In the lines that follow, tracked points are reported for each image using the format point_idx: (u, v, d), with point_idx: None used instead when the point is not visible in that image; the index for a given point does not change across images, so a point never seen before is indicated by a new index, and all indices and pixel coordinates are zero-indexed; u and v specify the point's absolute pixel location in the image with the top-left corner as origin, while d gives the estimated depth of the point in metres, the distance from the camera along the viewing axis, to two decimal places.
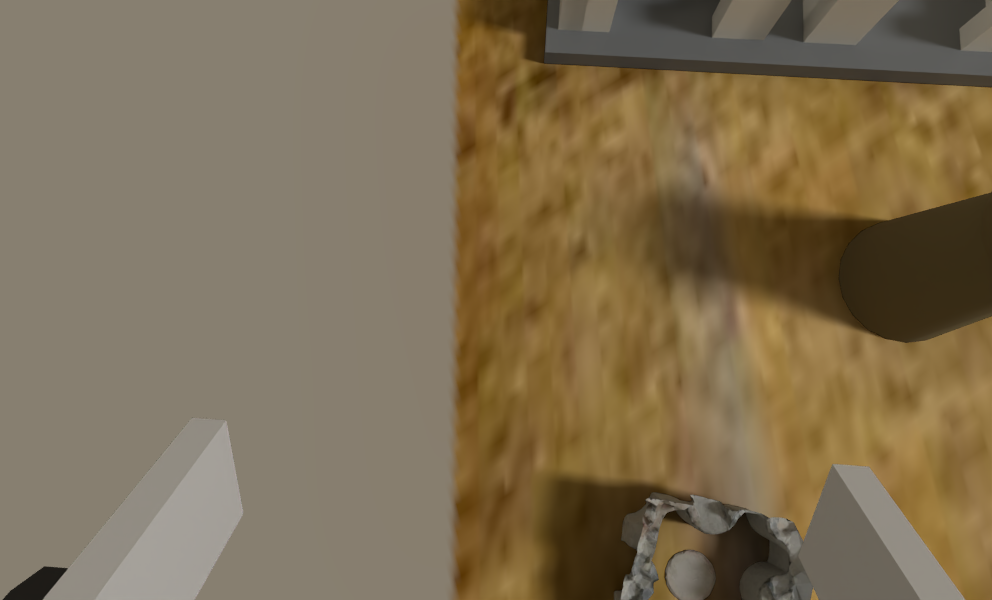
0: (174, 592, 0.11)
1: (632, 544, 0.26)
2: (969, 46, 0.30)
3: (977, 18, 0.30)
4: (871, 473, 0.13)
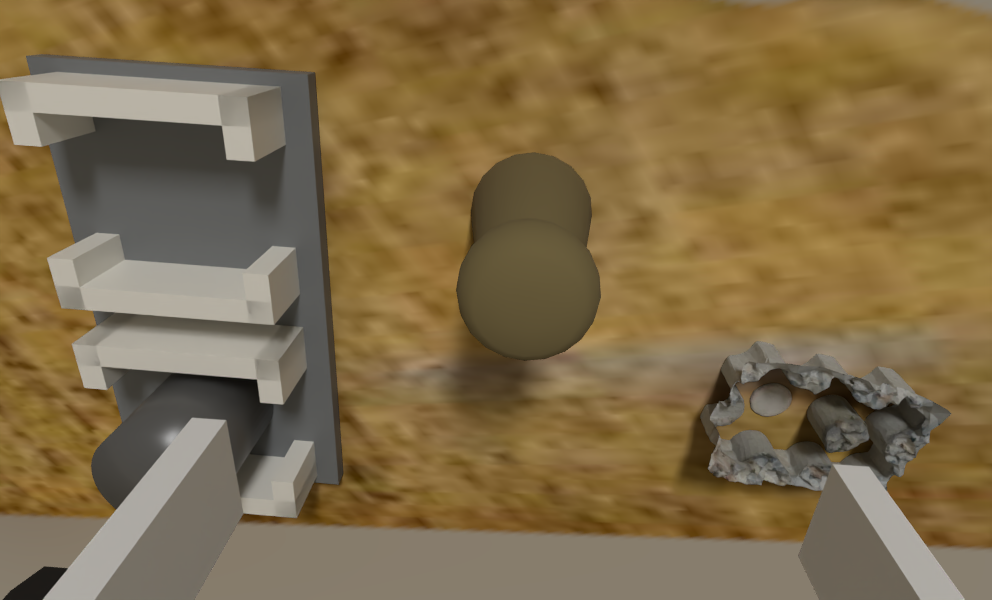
0: (174, 593, 0.11)
1: None
2: (282, 142, 0.28)
3: None
4: (871, 472, 0.13)
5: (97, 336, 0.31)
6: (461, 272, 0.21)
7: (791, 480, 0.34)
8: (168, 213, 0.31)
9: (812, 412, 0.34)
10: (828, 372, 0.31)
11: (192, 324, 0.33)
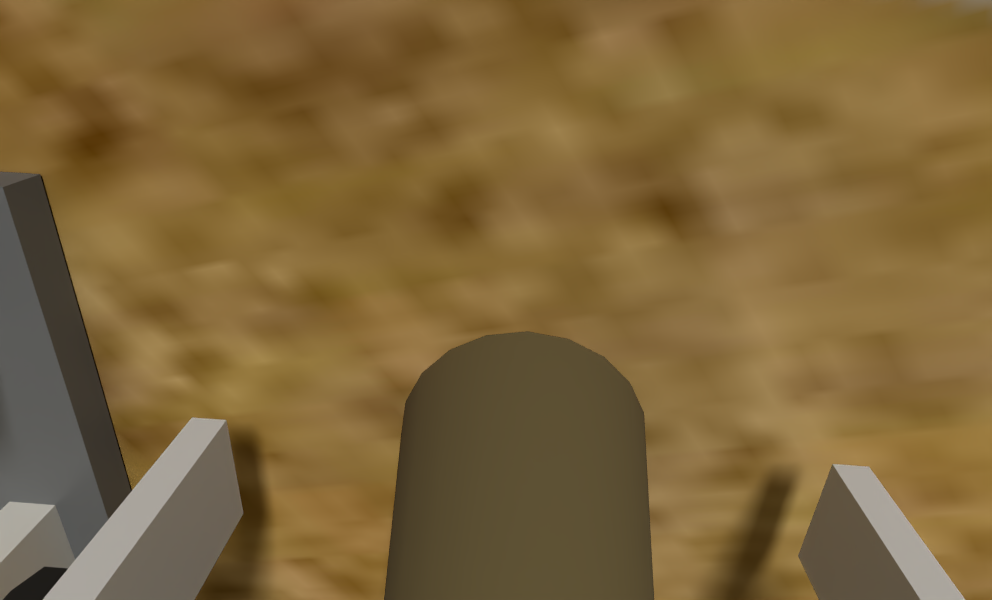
0: (174, 593, 0.11)
1: None
2: None
3: None
4: (871, 472, 0.13)
5: None
6: None
7: None
8: None
9: None
10: None
11: None
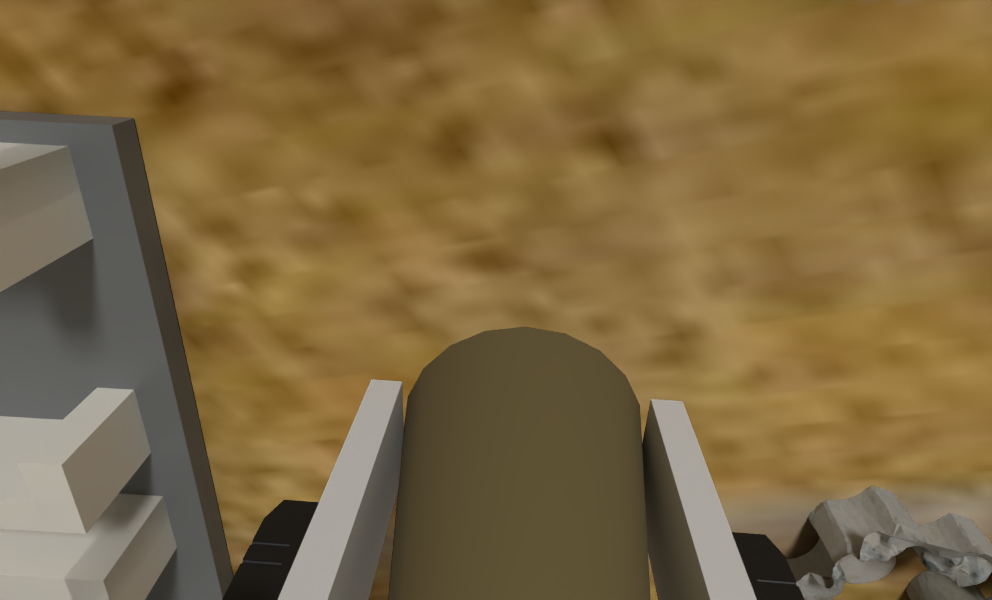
0: (379, 528, 0.13)
1: None
2: (83, 237, 0.17)
3: None
4: (682, 406, 0.14)
5: None
6: None
7: None
8: None
9: (921, 589, 0.23)
10: (987, 559, 0.20)
11: None
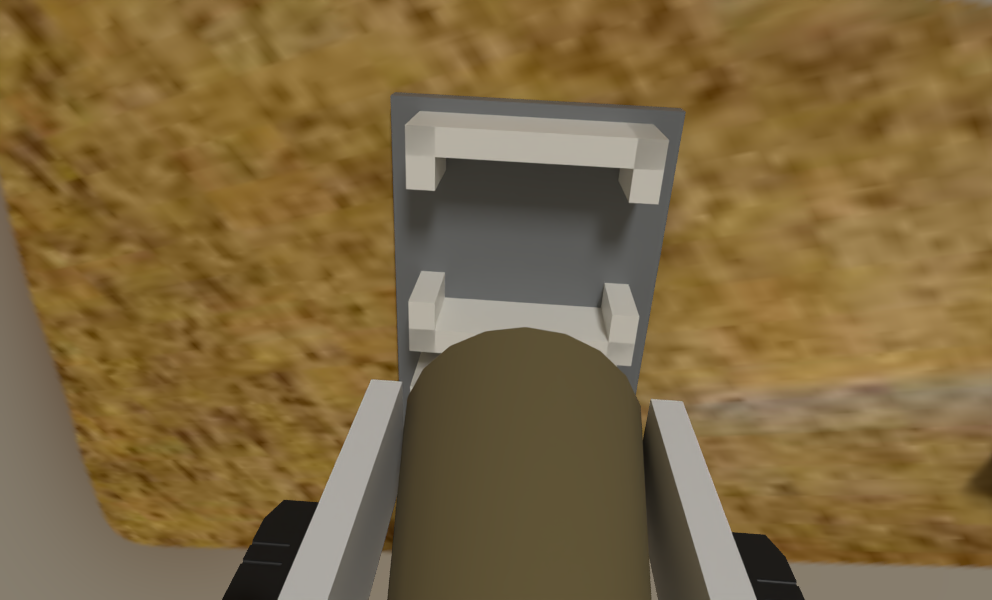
0: (379, 528, 0.13)
1: None
2: None
3: None
4: (683, 406, 0.14)
5: None
6: None
7: None
8: (502, 251, 0.30)
9: None
10: None
11: None
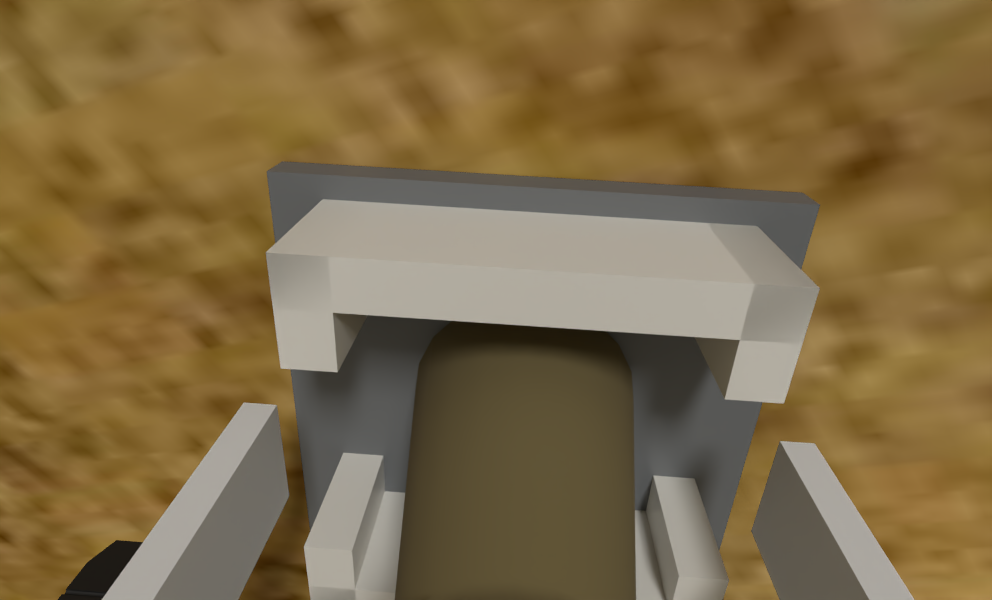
0: (234, 567, 0.12)
1: None
2: None
3: None
4: (816, 448, 0.13)
5: None
6: None
7: None
8: None
9: None
10: None
11: None
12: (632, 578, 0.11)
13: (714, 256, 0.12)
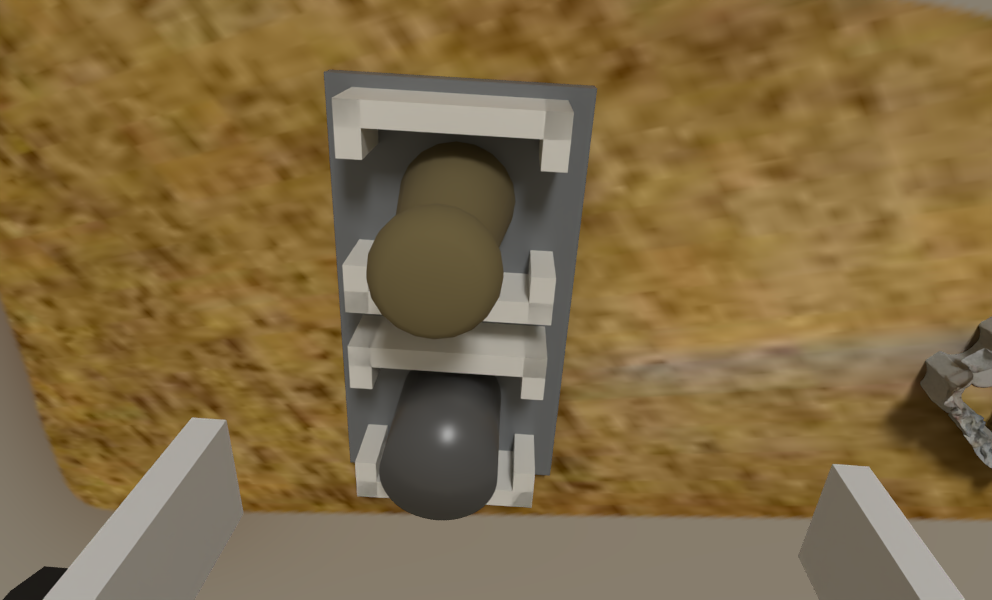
0: (174, 592, 0.11)
1: (949, 412, 0.35)
2: None
3: None
4: (872, 473, 0.13)
5: (365, 338, 0.32)
6: (368, 256, 0.22)
7: None
8: None
9: None
10: None
11: None
12: (492, 230, 0.25)
13: (536, 105, 0.27)
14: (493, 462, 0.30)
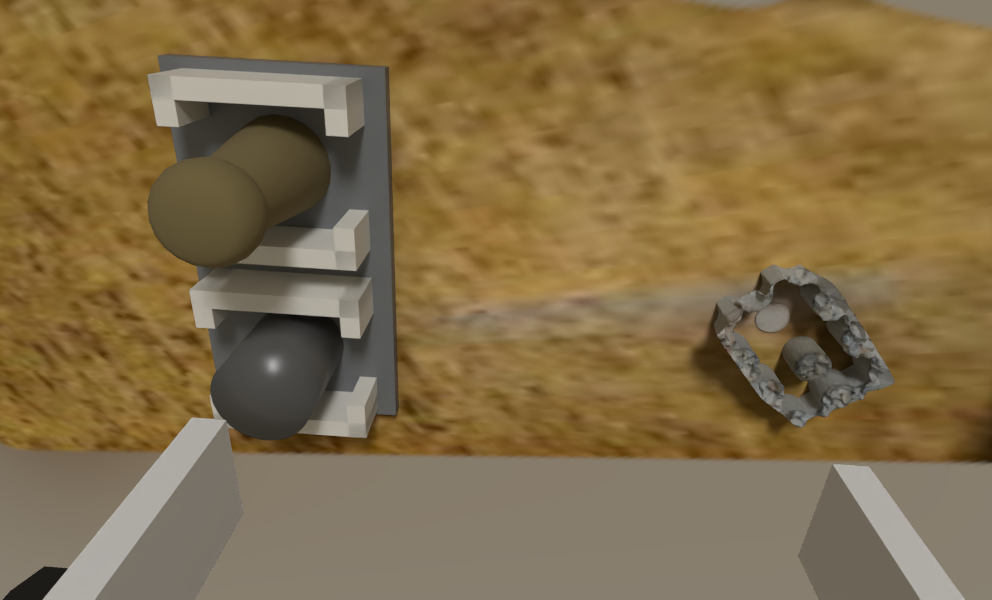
0: (174, 593, 0.11)
1: None
2: (362, 123, 0.35)
3: None
4: (871, 473, 0.13)
5: (207, 284, 0.38)
6: None
7: (754, 381, 0.40)
8: None
9: (793, 343, 0.41)
10: (843, 309, 0.38)
11: (281, 275, 0.40)
12: (272, 183, 0.31)
13: (322, 81, 0.33)
14: (304, 386, 0.36)
